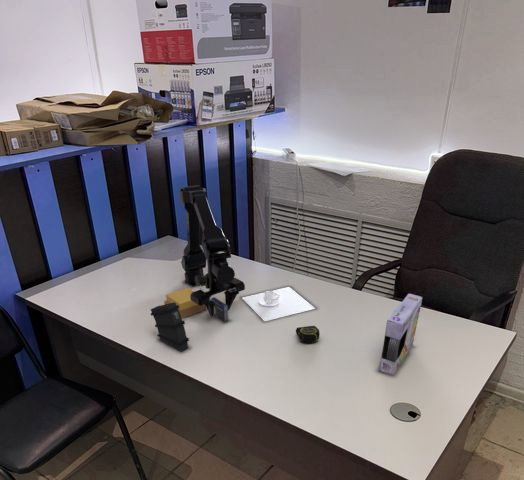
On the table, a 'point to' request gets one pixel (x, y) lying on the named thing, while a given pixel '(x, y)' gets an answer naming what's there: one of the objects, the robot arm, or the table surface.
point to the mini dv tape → (220, 309)
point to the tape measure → (308, 334)
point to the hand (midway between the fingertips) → (219, 313)
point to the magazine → (170, 326)
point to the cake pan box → (400, 333)
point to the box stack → (184, 302)
